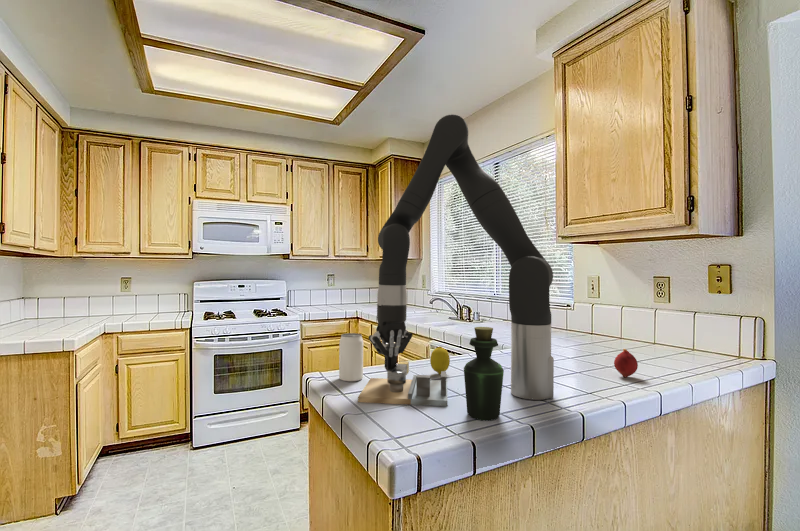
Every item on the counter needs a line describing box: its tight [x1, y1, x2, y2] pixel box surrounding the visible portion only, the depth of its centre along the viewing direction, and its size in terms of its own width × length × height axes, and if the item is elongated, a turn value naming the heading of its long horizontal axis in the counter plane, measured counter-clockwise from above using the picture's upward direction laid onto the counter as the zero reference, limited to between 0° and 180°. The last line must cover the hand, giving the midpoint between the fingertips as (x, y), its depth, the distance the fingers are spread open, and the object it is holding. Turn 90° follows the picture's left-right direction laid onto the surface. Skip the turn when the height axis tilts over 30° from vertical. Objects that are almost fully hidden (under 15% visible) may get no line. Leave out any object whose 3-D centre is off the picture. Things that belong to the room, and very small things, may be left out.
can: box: [338, 332, 364, 383], centre depth 112 cm, size 6×6×12 cm
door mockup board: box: [357, 370, 448, 407], centre depth 100 cm, size 20×16×6 cm
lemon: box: [429, 345, 451, 375], centre depth 118 cm, size 6×6×8 cm
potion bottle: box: [463, 326, 505, 422], centre depth 85 cm, size 8×8×18 cm
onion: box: [613, 348, 639, 378], centre depth 116 cm, size 6×6×8 cm
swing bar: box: [386, 361, 410, 385], centre depth 102 cm, size 12×4×3 cm, turn 169°
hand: (390, 370), depth 105 cm, fingers closed
